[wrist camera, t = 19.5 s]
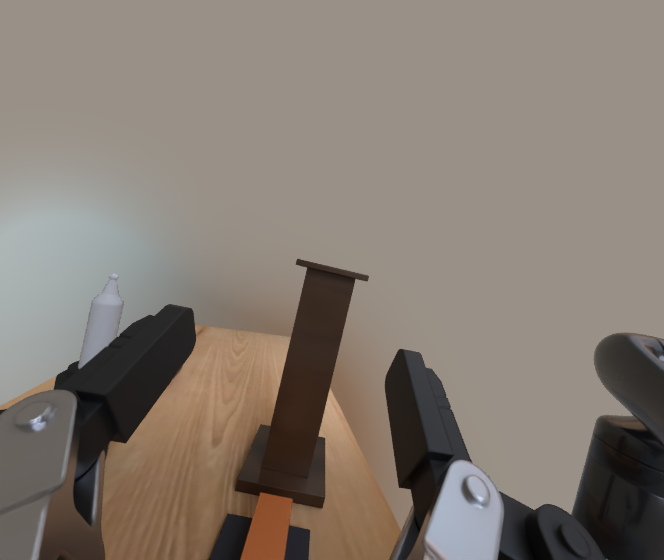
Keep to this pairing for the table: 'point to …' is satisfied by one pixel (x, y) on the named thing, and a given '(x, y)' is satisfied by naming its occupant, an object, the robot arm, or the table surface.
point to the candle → (98, 328)
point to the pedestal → (302, 394)
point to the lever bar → (268, 529)
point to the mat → (235, 536)
